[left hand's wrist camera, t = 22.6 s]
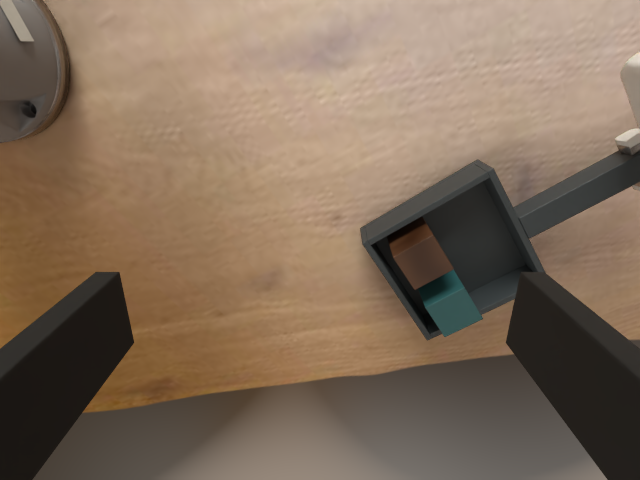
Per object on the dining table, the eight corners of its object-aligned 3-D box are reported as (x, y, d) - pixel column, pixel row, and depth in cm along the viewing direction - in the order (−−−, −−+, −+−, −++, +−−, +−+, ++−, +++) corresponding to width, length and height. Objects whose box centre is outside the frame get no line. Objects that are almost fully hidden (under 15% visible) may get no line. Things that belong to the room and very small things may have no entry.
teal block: (430, 304, 43) (444, 337, 37) (413, 277, 41) (425, 307, 36) (464, 287, 42) (483, 319, 36) (447, 259, 40) (464, 287, 35)
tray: (419, 318, 44) (427, 341, 40) (359, 228, 40) (362, 244, 36) (659, 199, 38) (696, 213, 34) (615, 78, 34) (652, 77, 30)
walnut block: (404, 261, 41) (414, 290, 35) (385, 232, 39) (392, 257, 34) (438, 242, 40) (454, 269, 34) (419, 212, 38) (433, 234, 33)
